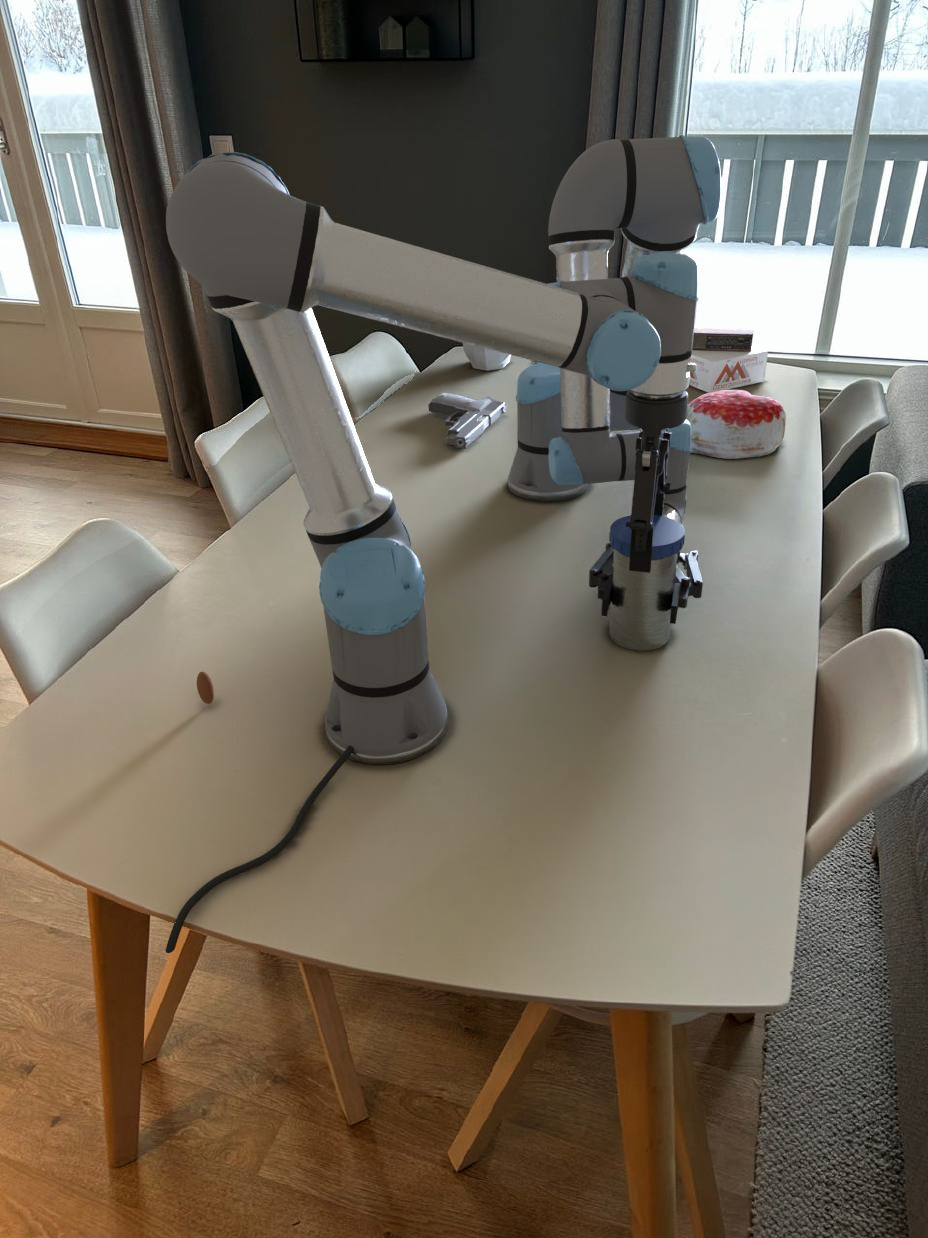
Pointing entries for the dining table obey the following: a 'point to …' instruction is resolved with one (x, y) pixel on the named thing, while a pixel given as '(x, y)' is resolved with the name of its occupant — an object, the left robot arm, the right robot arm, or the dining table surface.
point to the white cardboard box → (726, 359)
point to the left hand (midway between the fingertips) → (645, 552)
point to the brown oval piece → (205, 687)
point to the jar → (642, 603)
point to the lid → (664, 537)
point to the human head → (485, 357)
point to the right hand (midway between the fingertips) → (638, 611)
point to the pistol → (466, 416)
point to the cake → (735, 424)
